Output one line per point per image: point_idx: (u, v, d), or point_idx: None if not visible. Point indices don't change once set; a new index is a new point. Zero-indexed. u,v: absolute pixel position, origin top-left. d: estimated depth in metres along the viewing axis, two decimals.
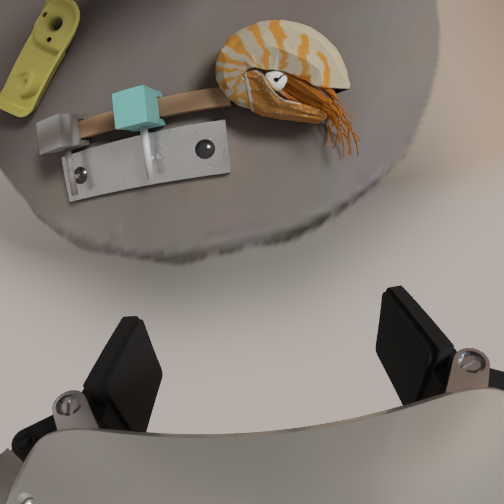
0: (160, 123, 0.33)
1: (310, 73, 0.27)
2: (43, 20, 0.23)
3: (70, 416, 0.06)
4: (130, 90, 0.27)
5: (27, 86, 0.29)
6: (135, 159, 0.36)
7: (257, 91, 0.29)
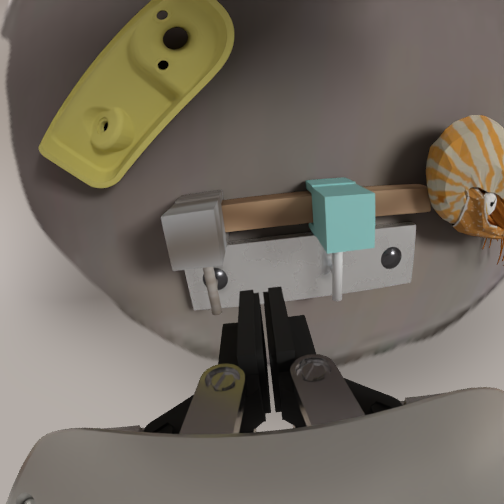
0: None
1: None
2: (157, 25, 0.18)
3: (215, 392, 0.07)
4: (355, 198, 0.21)
5: (111, 137, 0.23)
6: (306, 266, 0.30)
7: (470, 212, 0.23)
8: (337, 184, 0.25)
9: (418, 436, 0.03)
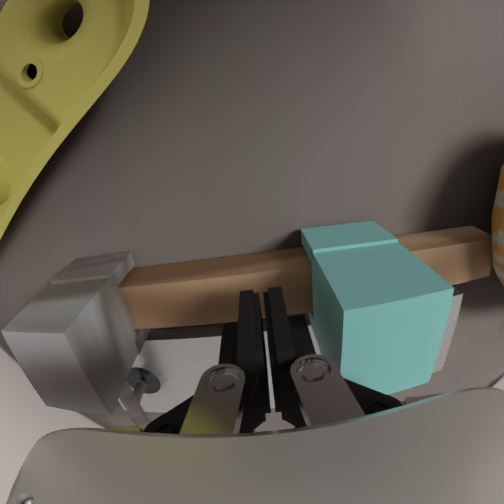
0: None
1: None
2: (26, 1, 0.06)
3: (215, 392, 0.07)
4: (413, 304, 0.08)
5: None
6: None
7: None
8: (364, 245, 0.12)
9: (418, 436, 0.03)
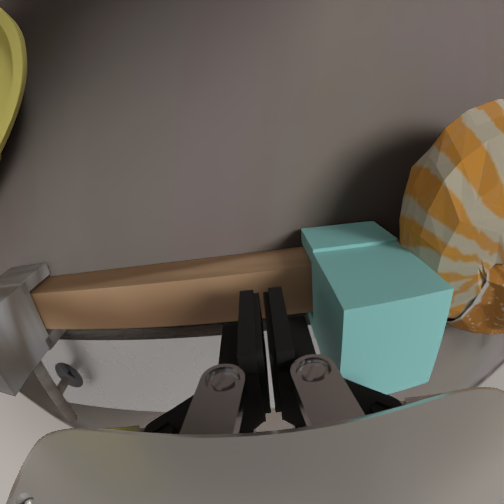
0: None
1: None
2: None
3: (215, 392, 0.07)
4: (413, 304, 0.08)
5: None
6: (178, 377, 0.17)
7: (485, 305, 0.11)
8: (364, 245, 0.12)
9: (418, 436, 0.03)
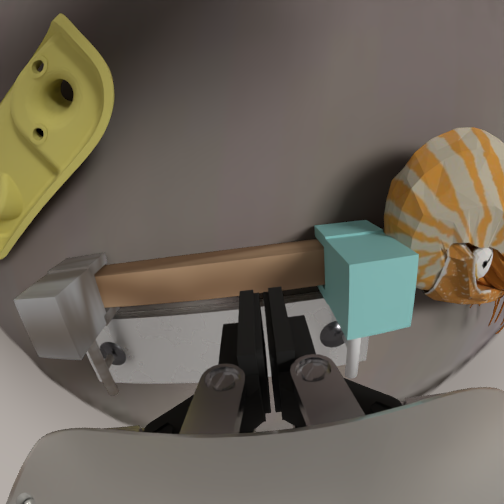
0: None
1: None
2: (33, 80, 0.12)
3: (215, 392, 0.07)
4: (392, 263, 0.14)
5: None
6: (214, 346, 0.22)
7: (451, 277, 0.16)
8: (360, 234, 0.18)
9: (418, 436, 0.03)
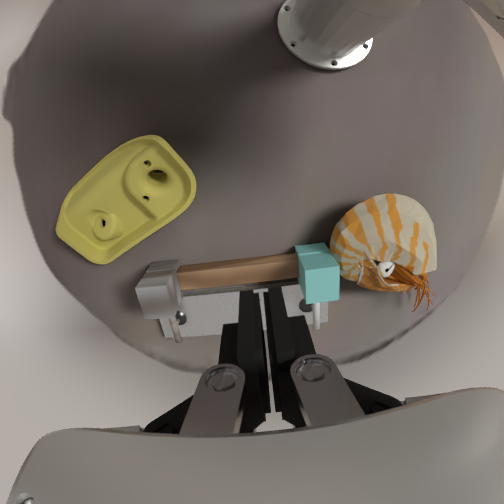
0: None
1: (414, 265, 0.33)
2: (143, 170, 0.31)
3: (215, 392, 0.07)
4: (325, 269, 0.32)
5: (107, 235, 0.36)
6: None
7: (367, 275, 0.35)
8: (316, 252, 0.36)
9: (418, 436, 0.03)
